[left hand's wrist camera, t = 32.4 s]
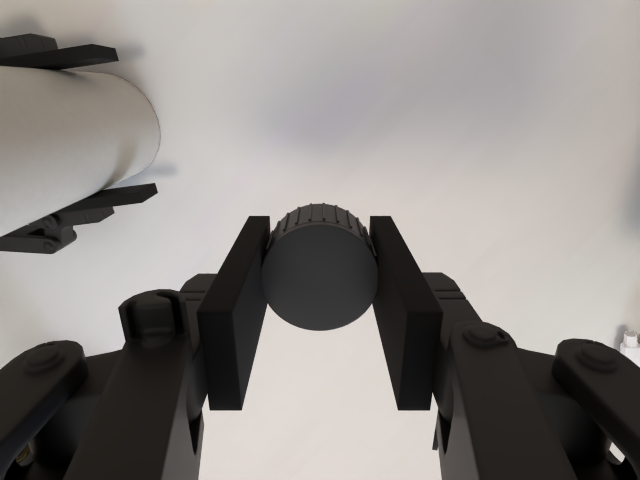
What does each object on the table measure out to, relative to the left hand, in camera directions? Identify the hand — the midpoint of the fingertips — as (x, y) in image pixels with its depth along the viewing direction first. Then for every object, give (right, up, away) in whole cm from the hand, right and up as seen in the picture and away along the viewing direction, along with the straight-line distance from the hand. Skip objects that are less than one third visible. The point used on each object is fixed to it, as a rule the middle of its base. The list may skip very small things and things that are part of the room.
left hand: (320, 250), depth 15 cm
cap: (0, -1, -2) cm, 2 cm away
